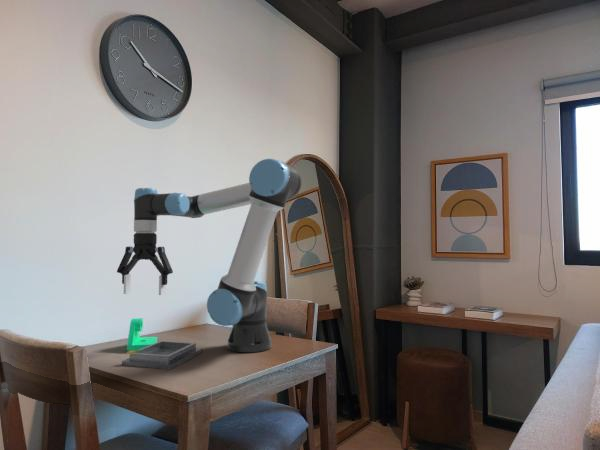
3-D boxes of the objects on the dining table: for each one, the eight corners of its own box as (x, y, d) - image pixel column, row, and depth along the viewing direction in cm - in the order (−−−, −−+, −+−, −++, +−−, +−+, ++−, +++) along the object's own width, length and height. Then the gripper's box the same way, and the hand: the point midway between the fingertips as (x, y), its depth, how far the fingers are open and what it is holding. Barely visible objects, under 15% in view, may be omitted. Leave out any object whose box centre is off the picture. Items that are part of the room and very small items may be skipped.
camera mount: (151, 352, 142) (151, 321, 142) (126, 353, 141) (127, 321, 141) (157, 344, 154) (157, 315, 154) (135, 344, 153) (135, 315, 153)
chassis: (202, 352, 142) (202, 340, 142) (170, 369, 123) (170, 355, 123) (159, 348, 146) (159, 337, 146) (121, 365, 127) (122, 352, 127)
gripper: (183, 232, 150) (182, 293, 149) (120, 233, 155) (119, 291, 155) (172, 232, 142) (171, 296, 142) (107, 232, 148) (105, 294, 147)
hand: (144, 294), depth 148 cm, fingers open, 13 cm apart
